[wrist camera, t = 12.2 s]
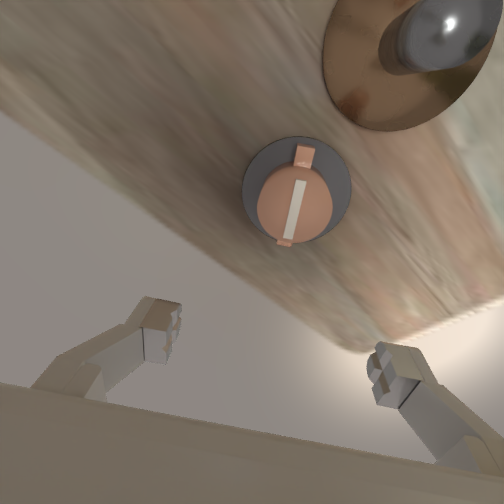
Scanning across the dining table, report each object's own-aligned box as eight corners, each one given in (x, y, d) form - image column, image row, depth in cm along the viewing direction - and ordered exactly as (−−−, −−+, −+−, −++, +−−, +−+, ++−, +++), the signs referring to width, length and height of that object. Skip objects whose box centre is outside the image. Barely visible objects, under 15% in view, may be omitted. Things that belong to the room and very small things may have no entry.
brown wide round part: (306, 117, 23) (312, 127, 16) (350, -76, 17) (387, -186, 10) (440, 140, 23) (504, 162, 16) (529, -49, 17) (689, -145, 10)
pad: (237, 230, 29) (236, 232, 28) (250, 127, 24) (249, 127, 23) (331, 248, 29) (332, 251, 28) (366, 147, 24) (368, 149, 23)
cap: (270, 137, 24) (266, 145, 20) (340, 149, 23) (349, 160, 20) (255, 231, 28) (249, 252, 24) (313, 242, 28) (316, 265, 24)
